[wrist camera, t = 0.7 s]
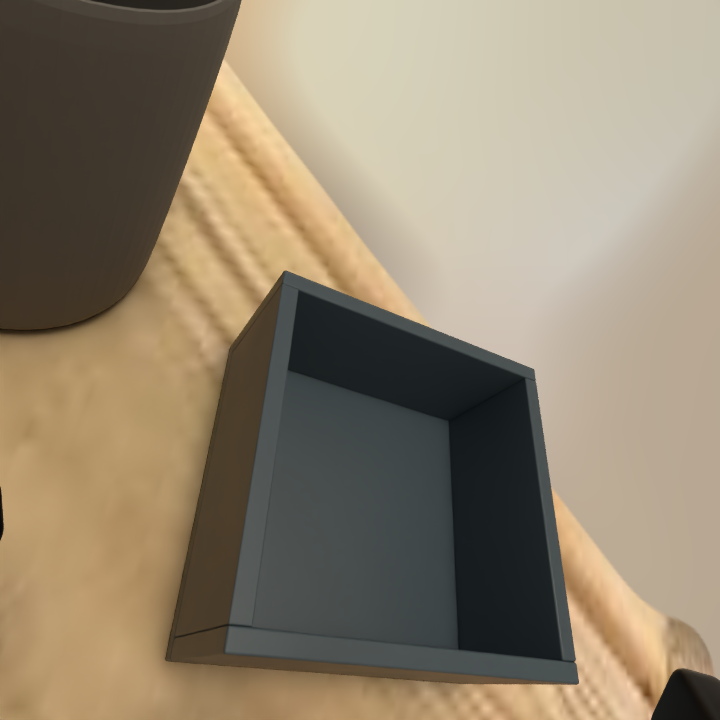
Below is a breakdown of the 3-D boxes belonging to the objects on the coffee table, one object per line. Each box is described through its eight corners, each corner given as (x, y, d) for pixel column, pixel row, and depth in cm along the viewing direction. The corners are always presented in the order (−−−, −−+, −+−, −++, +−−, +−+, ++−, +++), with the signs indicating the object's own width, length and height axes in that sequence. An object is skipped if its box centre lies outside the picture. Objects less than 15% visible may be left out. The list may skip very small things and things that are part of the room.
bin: (462, 683, 21) (580, 684, 16) (164, 661, 16) (223, 653, 12) (450, 417, 27) (534, 368, 22) (230, 346, 22) (284, 269, 18)
